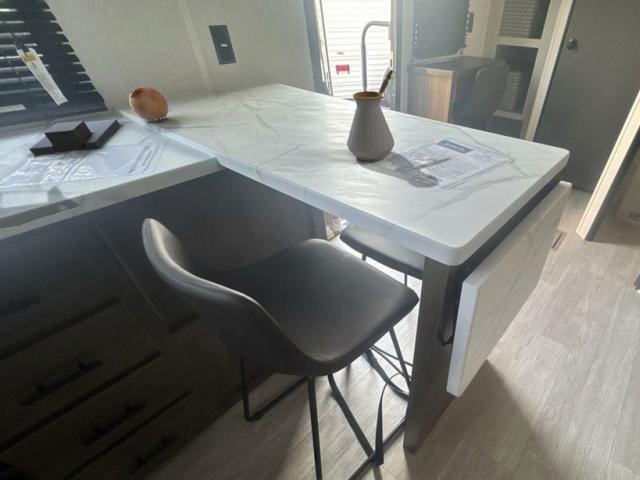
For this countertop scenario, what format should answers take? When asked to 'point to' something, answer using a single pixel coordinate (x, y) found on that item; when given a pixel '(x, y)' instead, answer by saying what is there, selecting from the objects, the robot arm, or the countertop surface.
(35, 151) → the notched block
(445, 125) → the countertop surface
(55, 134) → the black angular block
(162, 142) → the countertop surface
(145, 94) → the onion
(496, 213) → the countertop surface
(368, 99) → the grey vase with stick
